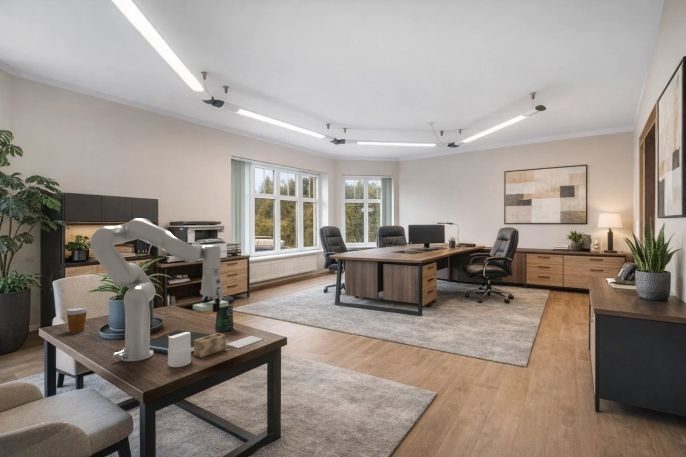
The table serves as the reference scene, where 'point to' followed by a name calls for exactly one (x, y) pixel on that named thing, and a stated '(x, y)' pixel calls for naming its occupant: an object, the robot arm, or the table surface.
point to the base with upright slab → (179, 350)
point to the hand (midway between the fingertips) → (210, 309)
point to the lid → (208, 305)
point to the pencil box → (209, 345)
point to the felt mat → (244, 342)
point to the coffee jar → (225, 316)
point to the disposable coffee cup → (76, 318)
